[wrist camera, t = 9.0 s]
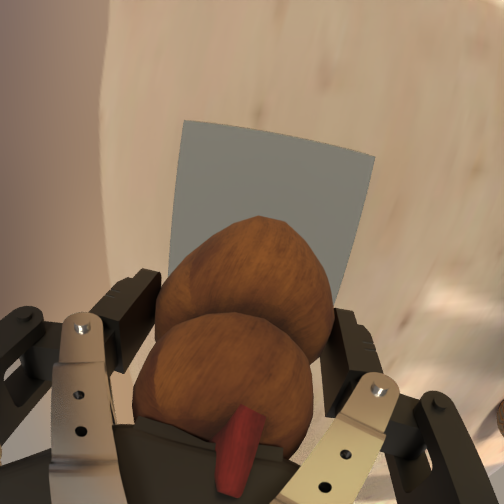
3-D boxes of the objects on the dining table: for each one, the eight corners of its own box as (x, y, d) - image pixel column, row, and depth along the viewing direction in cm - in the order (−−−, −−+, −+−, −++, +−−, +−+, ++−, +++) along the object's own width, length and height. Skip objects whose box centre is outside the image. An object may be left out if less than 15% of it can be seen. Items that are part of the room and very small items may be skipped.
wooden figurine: (236, 329, 18) (167, 596, 4) (173, 251, 17) (-14, 506, 3) (339, 272, 16) (407, 595, 2) (278, 179, 15) (204, 600, 1)
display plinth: (364, 153, 22) (375, 156, 19) (324, 302, 27) (328, 321, 24) (195, 121, 23) (184, 120, 20) (178, 273, 28) (167, 289, 25)
